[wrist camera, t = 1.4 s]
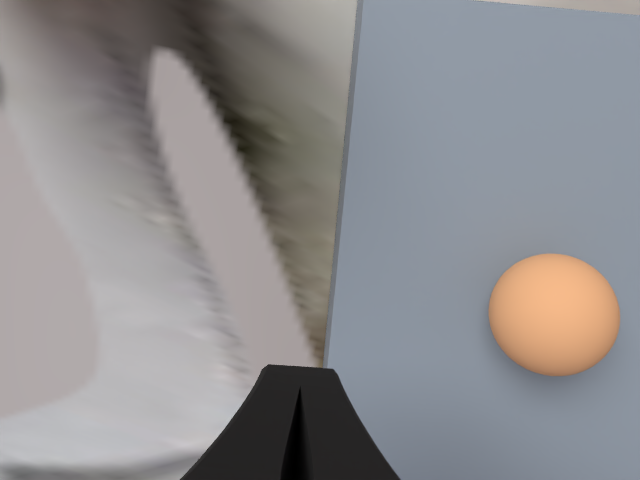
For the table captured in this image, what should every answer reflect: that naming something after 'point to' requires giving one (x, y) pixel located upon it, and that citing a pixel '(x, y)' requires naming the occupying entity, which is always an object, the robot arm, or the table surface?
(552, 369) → the ball
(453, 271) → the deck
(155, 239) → the table surface
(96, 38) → the table surface
